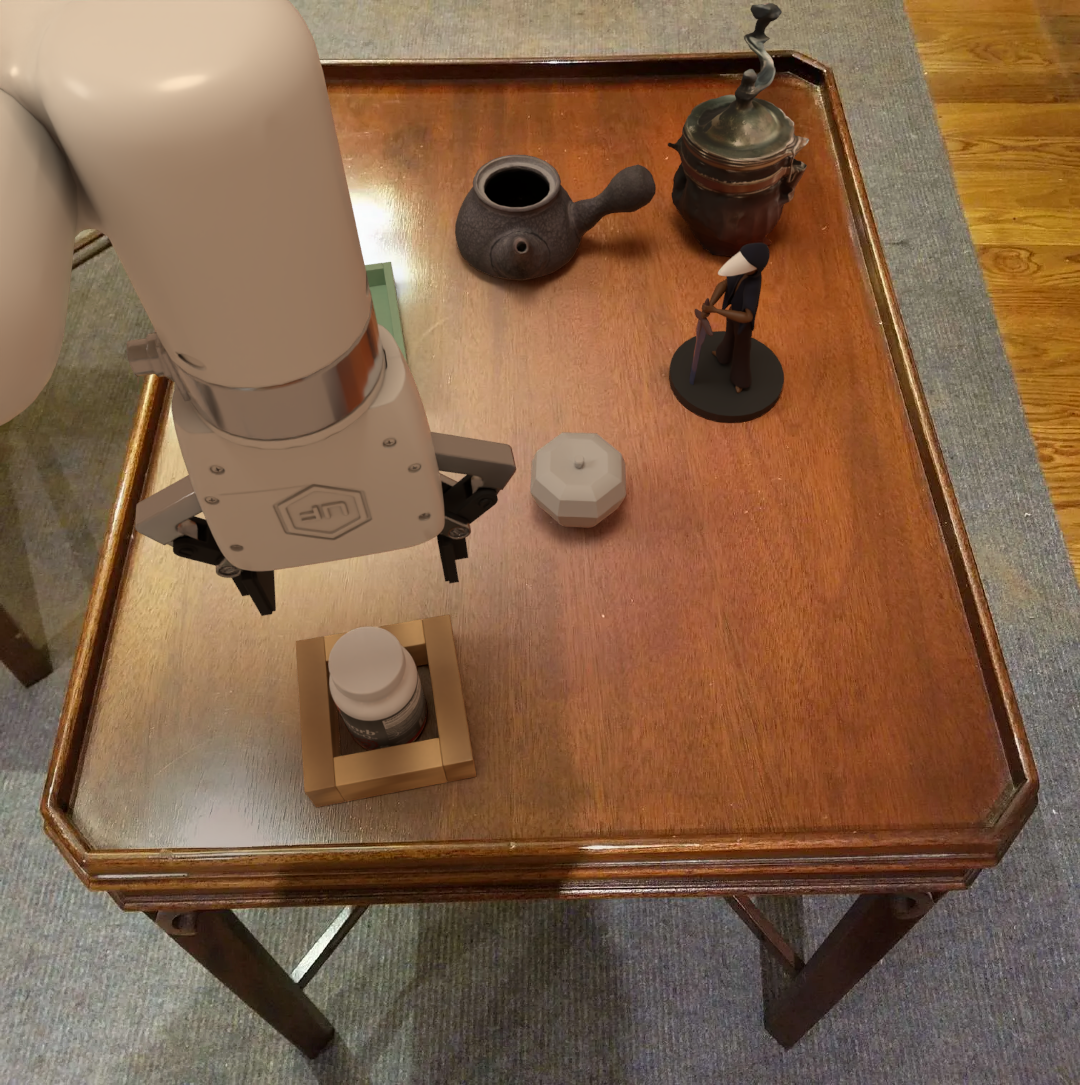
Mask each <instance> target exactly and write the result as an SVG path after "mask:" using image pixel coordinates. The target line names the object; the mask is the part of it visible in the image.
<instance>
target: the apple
mask: <svg viewBox="0 0 1080 1085" xmlns="http://www.w3.org/2000/svg"><path fill="white" fill-rule="evenodd" d="M530 468H531V469H530V486H529V487H530V488H529V492H530V496H531V497H532V498H533V500H534V503H535V504H536V505H537V506H538V507H539V508H541V509H542V510H543V511H544V512H545V513H546V514H547V515H549V516H550V517H551V518H552V519H553V520H554V521H555V522H557V523H558V524H559V525H560V526H562V527H563V528H564V527H566V528H586V529H587V528H589V529H590V528H593V527H596V526H597V525H598V524H599V523H601V522H602V521H603V520H605V519H606V518H608V516H610V515H611V514H612V513H614V512H615V511H616V510H618V509H619V508H620V506H621V504H622V503H623V501H624V500H625V498H626V496H627V480H626V479H627V478H626V477H627V475H626V473H627V472H626V471H627V470H626V462H625V459H624V457H623V454H622V453H621V452H620V450H618V449H617V448H616V447H615V446H613V445H612V444H611V443H609V442H608V441H607V440H606V439H605V438H603V437H602V436H601V435H599V434H598V433H597V432H595V433H594V432H572V431H571V432H569V431H568V432H567V431H562V432H561V433H559V434H558V435H556V436H555V437H554V438H552V439H551V440H550V441H548V442H547V443H546V444H544V445H543V446H541V447H540V448H539V449H537V450H536V452H535V454H534V455H533V458H532V460H531V467H530Z"/></svg>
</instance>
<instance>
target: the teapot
mask: <svg viewBox="0 0 1080 1085" xmlns="http://www.w3.org/2000/svg"><path fill="white" fill-rule="evenodd" d="M472 179H473V181H472V187H471V188H470V190H469V191H468V192H467V193H466V196H465V197H464V199H463V201H462V202H461V206H460V207H459V210H458V213H457V216H456V219H455V226H454V235H455V236H454V237H455V241H456V245H457V248H458V250H459V253H460V255H461V256H462V258H463V259H464V260H465V261H466V262H467V263H468V264H469V266H471V267H473V269H475V270H476V271H479V272H482V273H484V274H486V275H488V276H491V277H494V278H497V279H504V280H511V281H526V280H532V279H537V278H541V277H544V276H548V275H550V274H553V273H555V272H557V271H558V270H560V269H562V268H563V267H564V266H565V265H567V264H568V263H569V262H570V261H571V260H572V259H573V257H574V256H575V254H576V252H577V251H578V249H579V247H580V244H581V241H582V238H583V236H584V235H585V234H586V233H587V232H589V231H590V230H591V229H593V228H594V227H595V226H596V225H597V224H598V223H599V222H600V221H601V220H602V219H603V218H604V217H606V216H608V215H611V214H618V213H620V214H621V213H626V214H627V213H635V212H637V211H638V210H640V209H642V208H644V207H646V206H647V205H648V204H649V203H651V201H652V199H653V198H654V197H655V195H656V191H657V190H656V189H657V187H656V182H655V180H654V177H653V174H652V172H651V171H650V170H649V169H648V168H647V167H646V166H643V165H641V164H635V165H630V166H627V167H625V168H623V169H621V170H619V171H618V172H617V173H616V174H615V175H614V176H613V177H612V178H611V180H610V182H609V183H608V184H607V186H606V187H605V188H604V189H603V191H601V193H599V194H597V195H596V196H594V197H591V198H585V199H580V200H577V201H575V202H574V201H573V199H572V198H571V196H570V195H569V193H568V191H567V190H566V189H565V188H564V186H562V180H561V176H560V174H559V172H558V170H557V169H556V168H555V167H554V166H553V165H552V164H550V163H549V162H548V161H546V160H543V159H541V158H539V157H537V156H532V155H529V154H507V155H502V156H498V157H495V158H493V159H490V160H489V161H488V162H486V163H485V164H483V165H481V166H480V167H479V169H478V170H476V173H475V174H474V177H473V178H472Z"/></svg>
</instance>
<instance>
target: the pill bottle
mask: <svg viewBox="0 0 1080 1085" xmlns="http://www.w3.org/2000/svg"><path fill="white" fill-rule="evenodd" d="M379 627H380V626H373V625H366V626H359V627H356V628H353V629H350V630H349V631H347V633H346V634H344V635H343V636H342V637H341V638H340V639H339V640H338V641H337V642H336V643H335V645H334V646H333V648H332V650H331V652H330V656H329V661H328V666H329V672H330V678H329V685H330V691H331V694H332V697H333V700H334V702H335V704H336V706H337V708H338V713H339V714H340V716H341V717H342V720H343V722H344V724H345V726H346V728H347V730H348V732H349V734H350V736H351V737H352V738H353V739H354V741H355V742H356V743H357V744H358V745H359V746H360V747H362V748H363V749H366V751H370V750H376V749H381V748H386V747H392V746H397V745H402V744H408V743H413V742H416V740H417V739H418V738H419V736H420V735H421V734H422V732H423V730H424V728H425V726H426V723H427V719H428V706H427V705H428V704H427V700H426V696H425V692H424V689H423V686H422V683H421V679H420V675H419V672H418V669H417V668H418V667H417V666H416V665H415V663H414V660H413V658H412V657H411V655H410V654H409V652H408V651H407V650H406V649H405V648H404V647H403V646H401V644H400V642H399V641H398V639H397V638H396V637H395V636H394V635H393V634H392V633H390V632H389V631H387V630H385V629H382V628H379Z"/></svg>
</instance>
